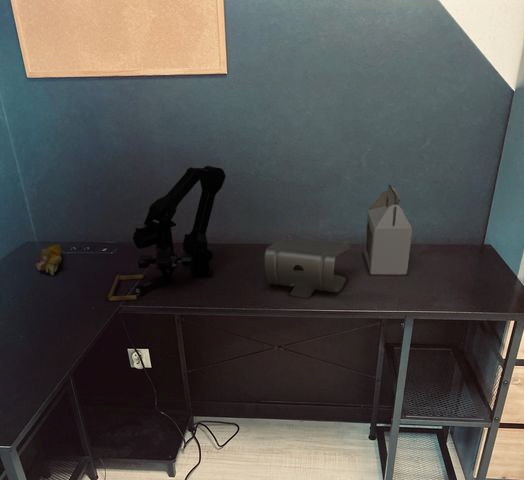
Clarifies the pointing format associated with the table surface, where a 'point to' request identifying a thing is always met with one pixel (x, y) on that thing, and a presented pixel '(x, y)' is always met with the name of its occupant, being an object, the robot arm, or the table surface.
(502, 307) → the table surface
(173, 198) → the robot arm
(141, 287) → the electric trimmer
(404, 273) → the gable box
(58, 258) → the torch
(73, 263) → the table surface
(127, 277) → the dock
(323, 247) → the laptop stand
